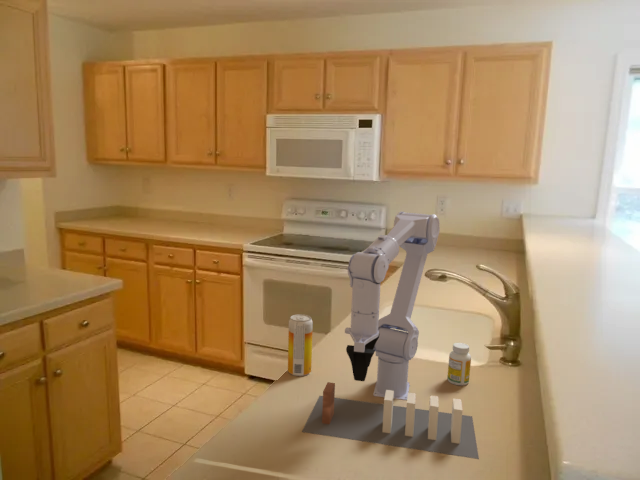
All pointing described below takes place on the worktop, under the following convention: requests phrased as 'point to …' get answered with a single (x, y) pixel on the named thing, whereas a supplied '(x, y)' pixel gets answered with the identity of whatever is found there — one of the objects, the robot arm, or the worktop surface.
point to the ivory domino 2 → (410, 414)
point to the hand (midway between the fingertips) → (362, 372)
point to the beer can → (300, 345)
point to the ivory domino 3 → (433, 417)
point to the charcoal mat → (392, 427)
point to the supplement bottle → (459, 364)
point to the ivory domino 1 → (388, 411)
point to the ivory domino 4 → (456, 421)
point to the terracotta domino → (328, 403)
